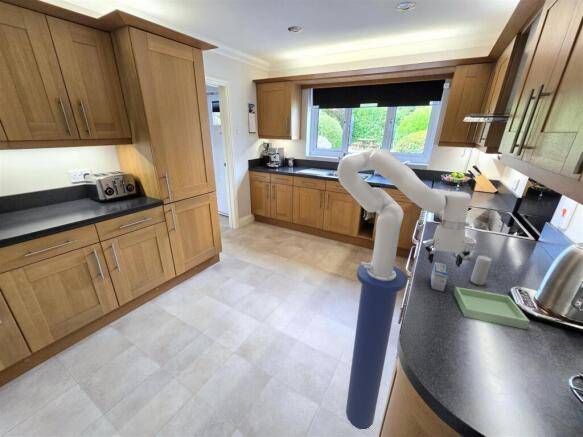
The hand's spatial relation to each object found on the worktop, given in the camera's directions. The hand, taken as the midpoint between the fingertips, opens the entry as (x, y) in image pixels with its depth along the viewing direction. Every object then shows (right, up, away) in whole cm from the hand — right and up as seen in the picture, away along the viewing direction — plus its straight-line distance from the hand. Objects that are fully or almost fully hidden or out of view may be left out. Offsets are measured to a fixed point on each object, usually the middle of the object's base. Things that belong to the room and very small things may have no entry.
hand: (443, 263), depth 98 cm
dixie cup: (+27, -2, +28) cm, 39 cm away
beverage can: (+18, -10, +6) cm, 21 cm away
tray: (+9, -15, -10) cm, 20 cm away
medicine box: (-1, -10, +4) cm, 11 cm away
